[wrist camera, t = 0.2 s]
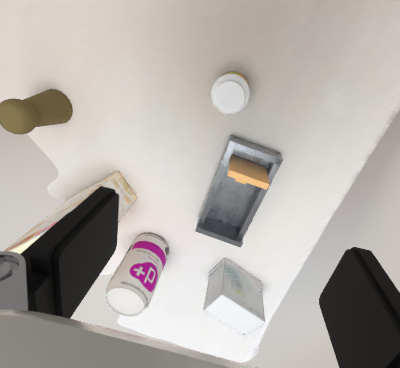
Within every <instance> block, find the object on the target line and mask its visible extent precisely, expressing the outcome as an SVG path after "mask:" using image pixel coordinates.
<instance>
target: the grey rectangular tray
mask: <svg viewBox="0 0 400 368" xmlns="http://www.w3.org/2000/svg"><path fill="white" fill-rule="evenodd" d="M231 155H233V156H236V157H239V158H242V159H245V160H247V161H250V162H253V163H256V164H258V165H261V166H264V167H266V170H267V174H268V179H269V184H271V182H272V180H273V178H274V176H275V174H276V172H277V170H278V168H279V167H280V165H281V163H282V161H283V159H282V157H281V154H280V153H279V152H276V151H273V150H270V149H267V148H265V147H262V146H259V145H256V144H254V143H251V142H248V141H245V140H243V139H240V138H237V137H234V136H232V135H231V137H230V139H229V142H228V144H227V147H226V150H225V152H224V155H223V157H222V160H221V162H220V165H219V167H218V170H217V173H216V175H215V178H214V180H213V183H212V185H211V188H210V191H209V193H208V196H207V198H206V201H205V203H204V206H203V209H202V211H201V214H200V216H199V220H198V223H197V227H196V230H195V231H196V232H199V233H202V234H205V235H207V236H210V237H213V238H216V239H219V240H221V241H224V242H227V243H230V244H233V245H235V246H238V247H241V246H242V244H243V237H244V235H245V233H246V231H247V229H248V227H249V225H250V223H251V221H252V219H253V217H254V215H255V213H256V211H257V209H258V207H259V205H260V204H261V202H262V200H263V198H264V196H265V194H266V192H267V190H268V189H267V190H265V189H263V188H260V187H257V186H254V185H252V184H249V183H246V184H243V183H240V182H237V181H235V178H232V177H229V176H227V175H228V168H229V161H230V158H231ZM269 186H270V185H269ZM268 188H269V187H268Z"/></svg>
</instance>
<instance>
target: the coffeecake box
mask: <svg viewBox="0 0 400 368" xmlns="http://www.w3.org/2000/svg"><path fill="white" fill-rule="evenodd" d="M100 186H103V187H107V188H112V189H115V191H116V193H117V194H119V212H118V222H119V221H120V220H121V218H122V217H123V216H124V214H125V213H126V212H127V210H128V209H129V208H130V206H131V205H132V204H133V203H134V201H135V200H136V199H137V196H136V195H135V193H134V192H133V191H132V189H131V188H130V187H129V186H128V184H127V183H126V181H125V179H124V178H123V177H122V175H121V174H120V172H119V171H117V172H115V173H113V174H111V175H110V176H108V177H106V178H104V179H102V180H101V181H99V182H97V183H95V184H94V185H92V186H90V187H88V188H86V189H85V190H83V191H81V192H79V193H78V194H76V195H74V196H72V197H71V198H69V199H68V200H67V201H65V202H64V203H63V204H62V205H61V206H59V207H58V208H57V209H56V210H54V211H53V212H52V213H50V214H49V215H48V216H47V217H46V218H44V219H43V220H42V221H41V222H40V223H38V224H37V225H36V226H35V227H33V228H32V229H31V230H30V231H28V232H27V233H26V234H25V235H23V236H22V237H21V238H20V239H18V240H17V241H16V242H15V243H13V244H12V245H11V246H10V247H8V248H7V249H6V250H5V251H10V252H16V253H19V254H21V253H22V252H23V251H24V250H25V249H27V248H28V247H29V246H30V245H31V244H32V243H34V242H35V241H36V240H37V239H38V238H39V237H40V236H42V235H43V234H44V233H45V232H46V231H47V230H49V229H50V228H51V227H52V226H53V225H54V224H56V223H57V222H58V221H59V220H60V219H61V218H62V217H64V216H65V215H66V214H67V213H69V212H71V211H72V210H73V209H74V208H76V207H77V206H78V205H79V204H80V203H81V202H82V201H84V200H85V199H86V198H87V197H88V196H89V195H91V194H92V193H93V192H94V191H95V190H96V189H97V188H99V187H100Z"/></svg>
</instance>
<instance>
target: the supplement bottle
mask: <svg viewBox="0 0 400 368" xmlns="http://www.w3.org/2000/svg"><path fill="white" fill-rule="evenodd" d="M249 98H250V88H249V84H248V81H247V79H246V78H245V77H244V76H243V75H242V74H240V73H238V72H227V73H225V74H223V75H222V76H220V77H219V78H218V79H217V80H216V81H215V82H214V84H213V86H212V89H211V101H212V103H213V105H214V107H215V108H216V109H217V110H218V111H219V112H221V113H223V114H227V115H232V114H236V113H238V112H240V111H242V110H243V109H244V108H245V107H246V105H247V103H248V101H249Z"/></svg>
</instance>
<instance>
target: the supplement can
mask: <svg viewBox="0 0 400 368" xmlns="http://www.w3.org/2000/svg"><path fill="white" fill-rule="evenodd" d="M168 254H169V249H168V246H167V244H166V243H165V242H164V241H163V240H162V239H161V238H160V237H158V236H156V235H152V234H142V235H140V236H138V237H137V238H136V239H135V240H134V242H133V243H132V245H131V247H130V248H129V250H128V252H127V253H126V255H125V257H124V258H123V260H122V262H121V263H120V265H119V267H118V268H117V270H116V271H115V273H114V275H113V276H112V278H111V280H110V282H109V283H108V285H107V288H106V302H107V304H108V306H109V307H110V308H111V309H112V310H113V311H115V312H117V313H118V314H121V315H124V316H137V315H139V314H140V313H142V311H143V310H144V309H145V308H147V307H148V305H149V303H150V301H151V299H152V296H153V293H154V291H155V288H156V285H157V283H158V280H159V278H160V275H161V272H162V270H163V267H164V265H165V262H166V259H167V257H168Z"/></svg>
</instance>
